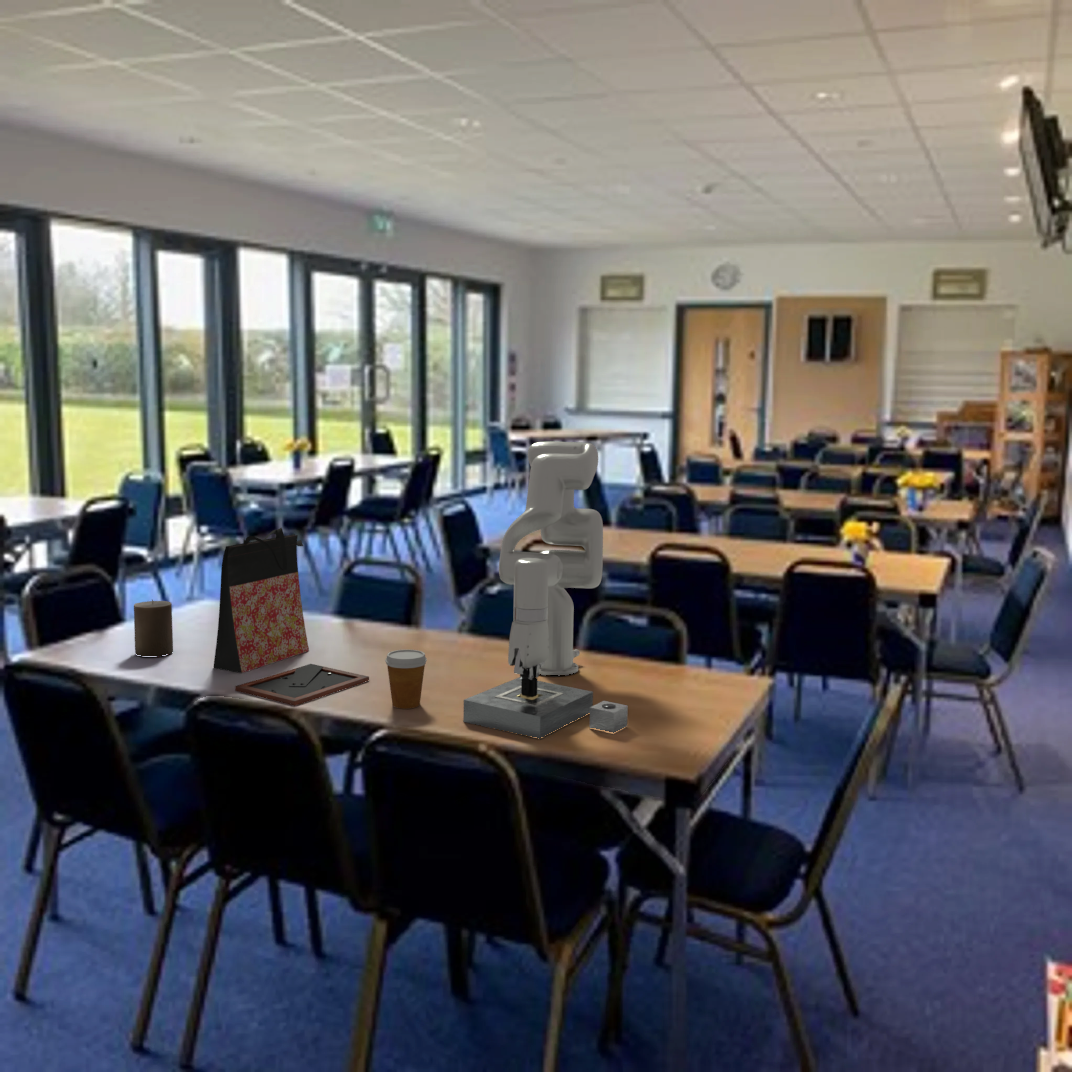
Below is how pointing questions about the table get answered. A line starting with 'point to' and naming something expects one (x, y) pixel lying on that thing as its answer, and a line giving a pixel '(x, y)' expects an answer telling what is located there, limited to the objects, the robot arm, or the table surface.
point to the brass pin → (528, 697)
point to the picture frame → (301, 684)
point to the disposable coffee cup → (406, 677)
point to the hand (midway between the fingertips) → (529, 695)
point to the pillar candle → (153, 628)
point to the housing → (608, 716)
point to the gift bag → (260, 604)
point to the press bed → (527, 708)
